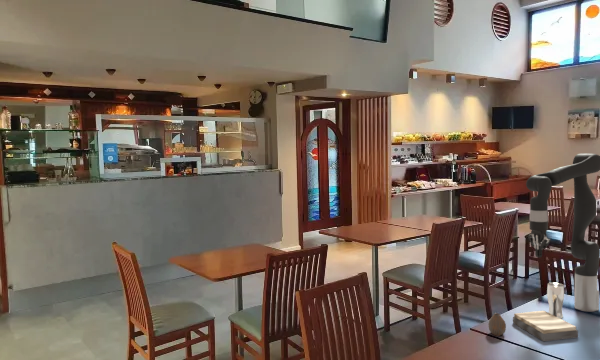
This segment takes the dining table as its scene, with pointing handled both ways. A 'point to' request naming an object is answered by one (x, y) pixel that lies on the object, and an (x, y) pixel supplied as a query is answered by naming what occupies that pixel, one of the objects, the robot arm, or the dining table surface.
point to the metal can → (555, 298)
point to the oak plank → (552, 325)
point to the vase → (497, 325)
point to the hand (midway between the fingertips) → (538, 256)
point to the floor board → (523, 323)
